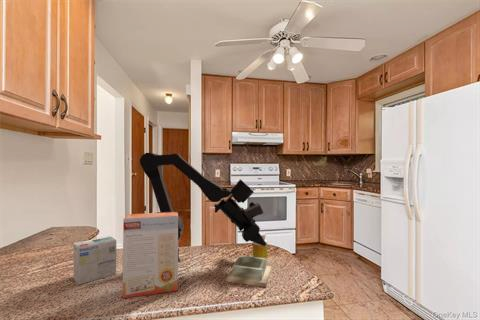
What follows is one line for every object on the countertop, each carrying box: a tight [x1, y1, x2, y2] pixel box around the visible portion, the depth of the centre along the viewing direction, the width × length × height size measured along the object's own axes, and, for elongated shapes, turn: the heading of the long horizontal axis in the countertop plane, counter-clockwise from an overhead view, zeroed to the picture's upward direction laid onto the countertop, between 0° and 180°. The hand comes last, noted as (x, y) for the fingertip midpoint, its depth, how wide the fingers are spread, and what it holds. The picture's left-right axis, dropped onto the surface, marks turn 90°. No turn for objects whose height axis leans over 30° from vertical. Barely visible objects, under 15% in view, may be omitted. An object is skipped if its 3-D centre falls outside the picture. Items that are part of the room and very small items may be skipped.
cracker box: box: [122, 211, 179, 299], centre depth 67 cm, size 14×6×21 cm, turn 106°
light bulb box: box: [73, 235, 117, 286], centre depth 75 cm, size 11×7×11 cm, turn 135°
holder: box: [225, 254, 272, 288], centre depth 77 cm, size 12×12×4 cm
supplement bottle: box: [252, 231, 269, 259], centre depth 88 cm, size 5×5×10 cm
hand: (263, 242), depth 88 cm, fingers closed on supplement bottle, 5 cm apart
